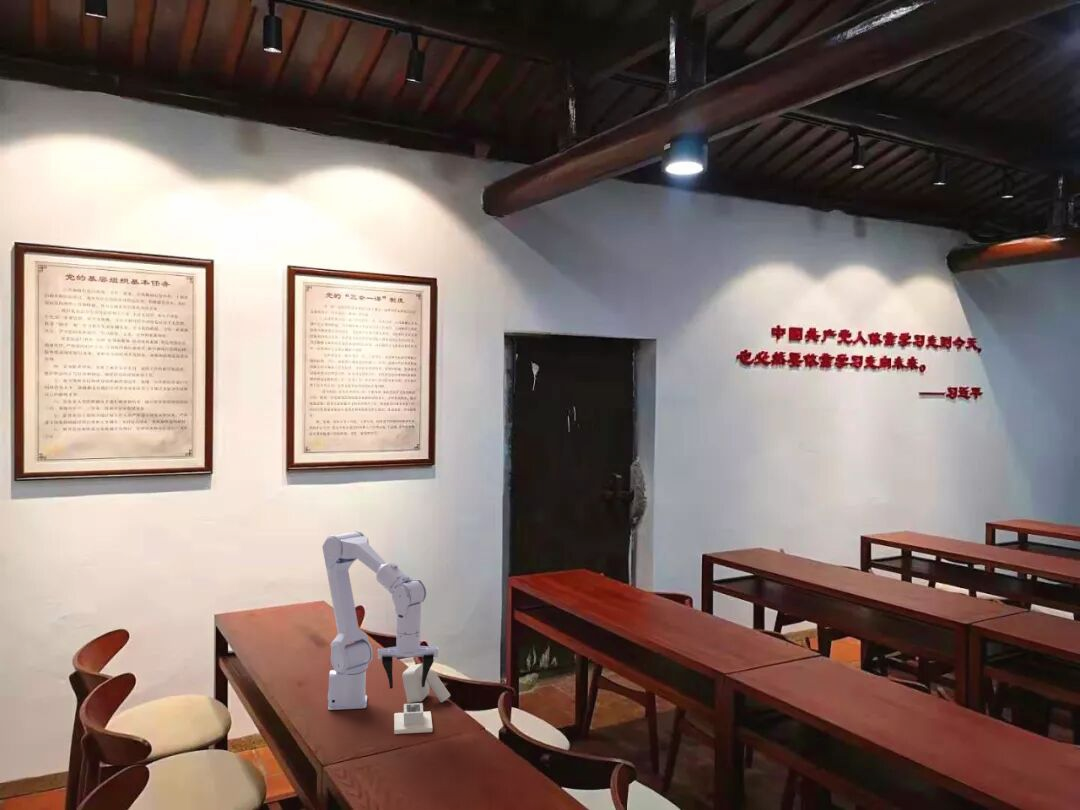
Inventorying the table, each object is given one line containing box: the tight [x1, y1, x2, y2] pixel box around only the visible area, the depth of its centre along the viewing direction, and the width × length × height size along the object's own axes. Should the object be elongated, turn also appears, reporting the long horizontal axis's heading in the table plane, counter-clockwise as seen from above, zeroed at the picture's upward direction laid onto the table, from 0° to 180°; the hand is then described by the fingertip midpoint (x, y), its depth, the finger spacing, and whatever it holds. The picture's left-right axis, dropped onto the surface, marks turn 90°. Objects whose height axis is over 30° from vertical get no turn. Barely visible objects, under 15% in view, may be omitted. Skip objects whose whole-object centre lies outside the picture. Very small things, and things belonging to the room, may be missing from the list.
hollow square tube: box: [403, 702, 424, 726], centre depth 198 cm, size 6×5×3 cm
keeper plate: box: [393, 705, 433, 735], centre depth 198 cm, size 9×10×4 cm
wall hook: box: [401, 662, 451, 704], centre depth 213 cm, size 8×10×10 cm
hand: (407, 686), depth 198 cm, fingers open, 7 cm apart
